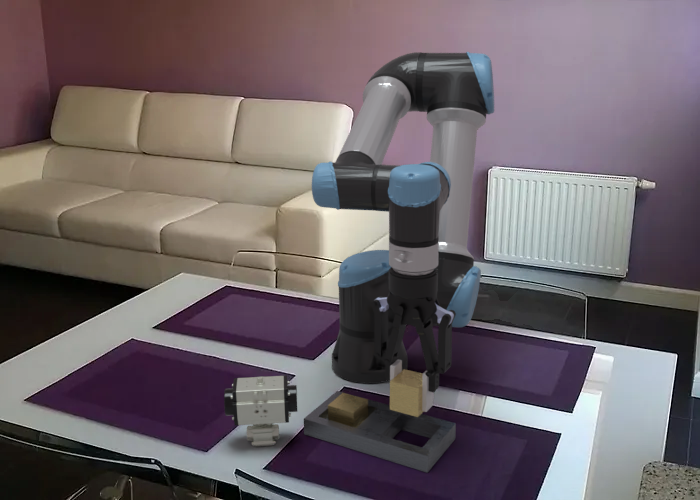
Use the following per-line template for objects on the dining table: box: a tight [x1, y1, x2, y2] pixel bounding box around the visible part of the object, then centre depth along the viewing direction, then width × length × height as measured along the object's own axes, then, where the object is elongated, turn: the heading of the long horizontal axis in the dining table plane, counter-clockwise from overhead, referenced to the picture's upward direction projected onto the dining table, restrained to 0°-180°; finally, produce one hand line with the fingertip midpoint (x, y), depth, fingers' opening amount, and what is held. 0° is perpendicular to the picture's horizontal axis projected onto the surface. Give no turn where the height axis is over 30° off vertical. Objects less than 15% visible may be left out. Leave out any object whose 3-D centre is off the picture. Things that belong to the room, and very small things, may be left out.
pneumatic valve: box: [223, 375, 298, 448], centre depth 130 cm, size 6×12×12 cm, turn 95°
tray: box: [303, 390, 457, 474], centre depth 132 cm, size 23×11×3 cm, turn 60°
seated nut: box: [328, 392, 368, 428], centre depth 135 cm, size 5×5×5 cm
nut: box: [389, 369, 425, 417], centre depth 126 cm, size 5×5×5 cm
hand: (411, 403), depth 127 cm, fingers closed on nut, 5 cm apart
